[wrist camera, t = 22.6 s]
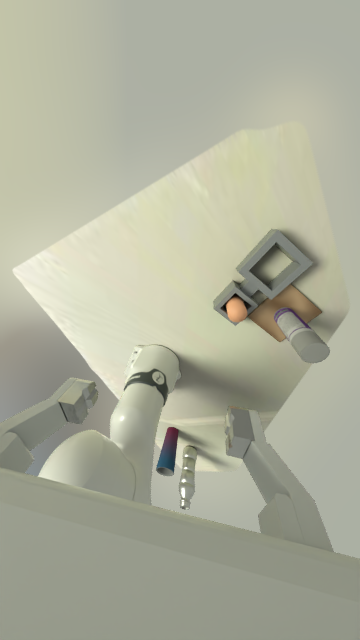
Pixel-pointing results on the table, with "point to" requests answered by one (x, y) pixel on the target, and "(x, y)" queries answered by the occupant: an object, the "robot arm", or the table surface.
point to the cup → (168, 453)
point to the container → (301, 336)
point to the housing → (253, 282)
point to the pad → (284, 299)
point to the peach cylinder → (236, 308)
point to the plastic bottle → (187, 477)
